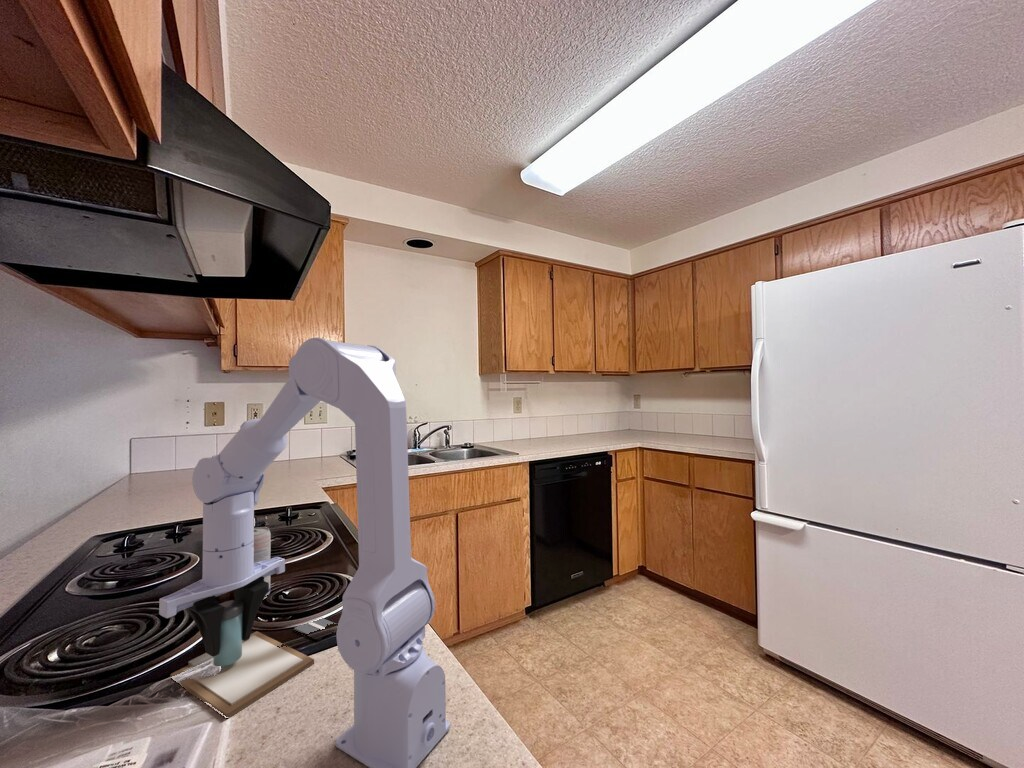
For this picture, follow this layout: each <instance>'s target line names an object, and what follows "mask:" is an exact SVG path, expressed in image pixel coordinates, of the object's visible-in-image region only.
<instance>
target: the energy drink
mask: <svg viewBox="0 0 1024 768" xmlns="http://www.w3.org/2000/svg"><path fill="white" fill-rule="evenodd" d="M271 537H272V534H271V531H270V528H269V527H266V526H265V527H264V526H259V527H258V526H257V527H254V563H256V562H260V561H264V560H268V559H271V552H272V551H271V550H272V549H271V546H272V545H271V544H272V542H271V540H272V539H271ZM264 581H265V582H268V583H269V591H268V592H267V594H266V595H265V596H267V595H268V596H269V595H270V593H271V575H270V576H267V577H265V578H264ZM268 596H267V597H268Z"/></svg>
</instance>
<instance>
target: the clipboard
mask: <svg viewBox="0 0 1024 768" xmlns="http://www.w3.org/2000/svg"><path fill="white" fill-rule="evenodd" d="M282 644H283V643H282V642H280V641H278V640H276V639H274V638H272V637H269V635H268V636H267V635H266V634H263V633H261V632H259V631H255V632H253V633H252V632H251V634H250V638H249V639H248V640H246V641H244V640H242V656H241V658H240V659H238V660H237V661H236V662H234V663H232V664H229V665H226V666H222V669H221V671H220V672H219V673H218V675H216V676H214V675H213V676H211V675H210V676H205V677H204V676H202V677H201V676H197V675H195V676H194V675H192V676H191V677H192V678H193V679H190V678H189V679H187V678H186V679H185V680H182V681H180V682H181V684H182V686H183V687H184V688H185V689H186V690H185V689H184V688H183V689H184V690H185V691H186V692H187V693H189V694H191V695H192V696H194V697H195V696H196V697H198V698H199V699H201V700H202V701H204V702H207V703H209V704H211V705H212V707H214V708H215V709H217V710H218V711H220V712H221V713H223V715H225V716H226V717H230V718H232V717H233V716H235V715H236V714H238V713H239V712H241V711H242V710H244V709H246V708H247V707H249V706H251V705H252V704H253V703H256V702H257V701H258V700H260V699H261V698H263V697H264V696H266V695H268V694H269V693H270V692H272V691H274V690H275V689H277V688H278V687H280V686H282V685H283V684H285V683H286V682H288V681H290V680H292V678H294V677H295V676H297V675H298V674H300V673H301V672H304V671H305V670H307V669H308V668H309V667H312V665H314V664H315V659H314V658H313V657H311V656H308V655H307V654H304V653H303V652H300V651H298V650H296V649H294V648H292V647H290V646H288V645H286V646H287V647H286V646H283V647H281V645H282ZM277 646H279V647H280V648H279V647H277ZM211 659H213V657H212V656H211V655H209V654H207V653H206V652H205V653H203V654H201V655H199V656H197V657H195V658H192V659H191V660H189V661H187V662H188V665H185V666H184V667H182V668H180V669H178V670H175V671H174V672H172V673H170V677H172V676H175V675H177V674H180V673H181V672H185V671H187V670H189V669H191V668H193V667H195V666H197V665H200V664H202V663H205V662H207V661H209V660H211ZM196 697H195V698H196ZM198 698H197V699H198ZM199 699H198V700H199ZM202 701H201V702H202Z"/></svg>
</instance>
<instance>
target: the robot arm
mask: <svg viewBox="0 0 1024 768" xmlns="http://www.w3.org/2000/svg"><path fill="white" fill-rule="evenodd" d="M396 365H397V364H396V359H395V358H393V357H392V356H391V355H390V354H388V353H387V352H386V351H385V350H384V349H382V348H381V347H379V346H377V345H363V344H354V343H348V342H342V341H341V342H340V341H333V340H328V339H325V338H322V337H310V338H308V339H306V340H305V341H304V342H302V343H301V345H300V346H299V347H298V349H297V350H296V353H295V354H294V355H293V356H292V357H290V359H289V361H288V377H289V378H288V379H287V381H286V382H285V384H284V385H283V387H282V388H281V389H280V390H279V391H278V394H277V395H276V397H275V398H274V400H273V401H272V402H271V404H270V405H269V406H268V408H267V409H266V411H265V413H264V414H263V415H262V417H261V418H258V417H257V418H252V419H249V420H245V421H243V423H241V425H239V426H240V429H238V431H237V432H235V434H234V435H233V437H232V438H231V439H230V440H229V441H228V442H227V444H226V445H225V446H224V447H223V449H222V450H220V452H219V454H214V455H212V456H210V457H203V458H201V459H199V460H198V462H197V464H196V465H195V467H194V469H193V471H192V472H193V473H192V481H191V483H192V487H193V491H194V494H195V496H196V498H197V499H198V500H199V501H200V502H202V505H203V506H202V578H201V579H200V580H198V581H196V582H193V583H191V584H190V585H187V586H185V587H183V588H181V589H180V590H177V591H175V592H173V593H171V594H169V595H165V596H163V597H160V598H159V607H158V608H159V609H158V610H159V611H158V614H159V615H160V616H161V617H163V618H165V619H169V618H172V617H174V616H176V615H178V613H179V612H181V611H183V610H186V611H187V612H188V614H189V615H190V617H191V618H192V620H193V621H194V623H195V625H196V627H197V628H198V631H199V633H200V635H201V639H202V642H203V646H204V650H205V651H204V652H205V653H207V654H209V655H211V656H212V657H214V656H216V655H218V654H219V652H220V627H221V620H222V615H223V611H224V608H225V607H224V606H222V605H220V604H221V603H219V599H216V597H220V596H221V595H224V594H226V593H229V592H233V597H234V600H242V601H243V612H242V640H244V641H246V640H248V639H249V638H250V634H252V631H253V626H254V622H255V620H256V617H257V615H258V611H259V609H260V607H261V604H262V603H263V601H264V599H265V598H264V597H265V595H266V594H267V592H268V591H269V583H268V582H265V581H264V578H265V577H267V576H270V577H271V576H272V575H274V574H276V575H279V574H282V573H285V571H286V559H285V558H282V557H279V556H274V557H272V558H271V559H268V560H264V561H260V562H256V563H254V528H255V525H254V524H255V523H254V521H255V520H254V519H255V507H256V505H258V502H259V494H260V491H261V489H262V487H263V484H264V481H265V477H266V475H265V473H264V472H265V471H266V470H267V469H268V468H269V466H271V464H272V463H273V462H274V461H275V460H276V459H277V457H278V456H279V455H280V454H281V453H282V452H283V451H284V450H285V449H286V447H287V445H288V436H287V434H288V432H290V430H291V429H293V428H294V427H295V426H296V425H297V424H298V423H299V422H301V420H302V419H303V418H304V417H305V416H306V415H308V413H310V412H311V411H312V410H313V409H314V408H315V407H316V406H317V405H319V403H321V402H323V403H325V404H328V405H330V406H332V407H335V408H337V409H339V410H340V411H341V412H342V413H343V414H345V416H347V417H348V418H349V419H350V420H351V421H352V422H353V423H354V433H355V434H354V437H355V469H356V499H357V500H356V504H357V506H356V509H357V537H358V539H357V540H358V542H357V543H358V544H357V546H358V568H357V570H356V572H355V574H354V575H353V577H352V579H351V581H350V582H349V583H348V586H347V587H346V589H345V591H344V593H343V595H342V609H341V610H342V611H341V614H340V615H341V616H340V618H339V620H338V622H337V624H338V626H337V631H336V633H335V634H336V644H337V650H338V651H339V654H340V656H341V658H342V659H343V661H344V662H345V664H347V666H348V667H349V668H351V669H352V670H353V724H352V725H351V726H350V727H349V728H348V729H347V730H346V731H344V732H343V733H342V734H341V735H340V736H338V737H337V738H336V739H335V740H334V741H335V745H334V746H335V748H338V749H339V750H341V751H342V752H344V753H345V754H347V755H349V756H350V757H352V758H353V759H355V760H356V761H358V762H360V763H362V764H363V765H364V766H366V767H368V768H417V767H418V766H419V765H420V764H421V762H422V761H423V760H424V759H425V758H426V756H427V755H428V754H429V753H430V752H431V751H432V750H433V749H434V748H435V746H436V745H437V744H438V743H439V741H441V740H442V738H443V737H444V736H445V734H446V733H447V732H448V731H449V730H450V729H451V722H450V721H449V720H447V718H446V716H447V715H446V711H447V709H446V707H447V705H446V699H447V698H446V695H447V694H446V674H445V671H444V668H443V667H442V666H440V665H439V664H438V663H436V662H435V661H434V660H433V659H432V658H430V657H429V655H428V654H427V652H426V650H425V648H424V646H423V643H424V642H423V640H424V639H425V638H426V626H427V625H428V624H429V623H430V622H431V621H432V619H433V617H434V615H435V612H436V599H435V595H434V593H433V590H432V588H431V586H430V582H429V579H428V567H427V566H426V565H425V564H423V563H422V562H420V561H418V560H416V559H414V558H413V557H412V544H411V543H412V542H411V541H412V540H411V513H410V510H411V509H410V482H409V481H410V480H409V479H410V478H409V450H408V426H407V425H408V422H407V421H408V420H407V403H406V402H407V401H406V400H405V397H404V396H405V395H404V394H403V392H402V390H401V386H400V384H399V382H398V380H397V366H396Z"/></svg>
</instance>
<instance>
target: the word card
mask: <svg viewBox="0 0 1024 768" xmlns="http://www.w3.org/2000/svg"><path fill="white" fill-rule="evenodd" d="M321 618H322V619H319V620H317V621H313V622H310V623H307V624H305V625H301V624H299V625H297V626H296V627H294V629H293V631H294V630H296V631H298V632H301V633H305V634H309V633H310V632H314V631H317V630H319V629H320V630H322V629H325V627H326V626H327V624H328V625H330V624H333V623H334V624H337V623H335V622H333V621H331V620H328V619H325V618H323V617H321ZM296 631H295V632H296ZM298 632H297V633H298Z"/></svg>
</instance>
